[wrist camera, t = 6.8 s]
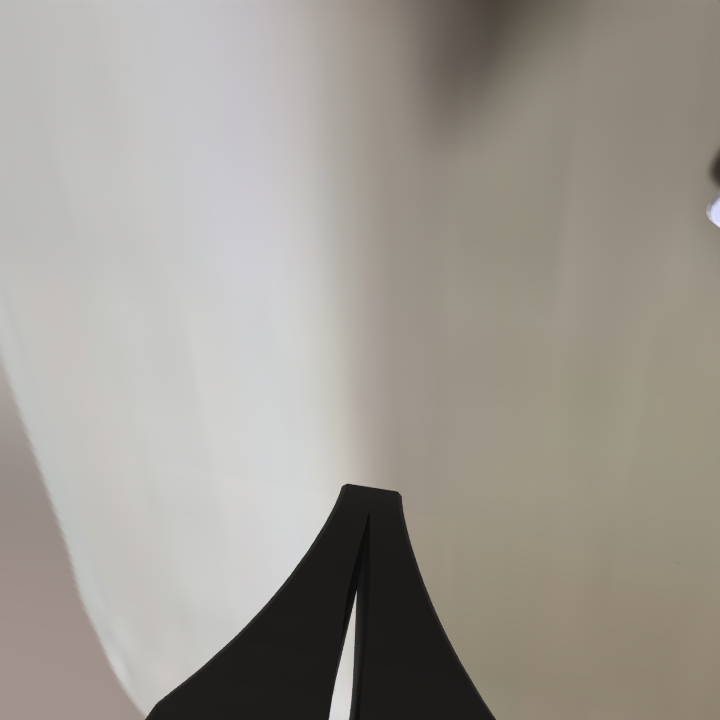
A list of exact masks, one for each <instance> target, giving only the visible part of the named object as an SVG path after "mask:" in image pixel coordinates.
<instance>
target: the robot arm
mask: <svg viewBox="0 0 720 720" xmlns="http://www.w3.org/2000/svg"><path fill="white" fill-rule="evenodd" d="M706 210H707V216H708V217H709V219H710V220H711V221H712V222H713V223H714V224H716V225H717V226H718V227H719V228H720V191H719V192H718V193H717V194H716V195H715V196H714V197H713V198H712V199H711V200H710V202H709V203H708V206H707V209H706ZM356 591H357V601H356V623H355V647H354V670H353V688H352V701H351V709H350V717H349V720H496V719H495V718H494V716H493V715H492V713H491V711H490V710H489V708H488V707H487V705H486V704H485V702H484V701H483V699H482V697H481V696H480V694H479V692H478V691H477V689H476V687H475V686H474V684H473V682H472V681H471V679H470V677H469V676H468V674H467V672H466V671H465V669H464V667H463V665H462V664H461V662H460V660H459V658H458V656H457V655H456V653H455V651H454V649H453V647H452V645H451V643H450V641H449V639H448V637H447V635H446V633H445V631H444V629H443V627H442V625H441V623H440V620H439V618H438V616H437V614H436V612H435V609H434V607H433V605H432V602H431V600H430V597H429V595H428V592H427V590H426V587H425V585H424V582H423V579H422V577H421V574H420V571H419V568H418V565H417V562H416V559H415V556H414V552H413V549H412V546H411V543H410V539H409V535H408V531H407V527H406V523H405V518H404V513H403V506H402V496H401V495H400V494H399V493H398V492H397V491H390V490H384V489H378V488H371V487H365V486H359V485H352V484H346V485H344V486H342V488H341V491H340V494H339V497H338V499H337V501H336V504H335V506H334V508H333V510H332V512H331V514H330V515H329V517H328V519H327V521H326V523H325V525H324V526H323V528H322V529H321V531H320V533H319V534H318V536H317V537H316V539H315V541H314V542H313V544H312V545H311V547H310V548H309V550H308V551H307V553H306V554H305V556H304V557H303V558H302V560H301V561H300V563H299V564H298V565H297V567H296V568H295V569H294V571H293V572H292V574H291V575H290V576H289V578H288V579H287V580H286V581H285V583H284V584H283V585H282V586H281V588H280V589H279V590H278V591H277V592H276V594H275V595H274V596H273V597H272V598H271V599H270V601H269V602H268V603H267V604H266V605H265V606H264V607H263V608H262V610H261V611H260V612H259V613H258V614H257V615H256V616H255V617H254V618H253V619H252V620H251V621H250V622H249V623H248V624H247V626H246V627H245V628H244V629H243V630H242V631H241V632H240V633H239V634H238V635H237V636H236V637H235V638H233V639H232V640H231V641H230V642H229V643H228V644H227V645H226V646H225V647H224V648H223V649H221V650H220V651H219V652H218V653H217V654H216V655H215V656H214V657H213V658H212V659H210V660H209V661H208V662H207V663H206V664H205V665H204V666H203V667H202V668H200V669H199V670H198V671H197V672H196V673H194V674H193V675H192V676H191V677H189V678H188V679H187V680H186V681H184V682H183V683H182V684H181V685H179V686H178V687H177V688H175V689H174V690H173V691H172V692H170V693H169V694H168V695H167V696H165V697H164V698H163V699H162V700H160V701H159V702H158V703H157V704H156V705H155V706H154V708H153V709H152V711H151V712H150V713H149V715H148V716H147V718H146V719H145V720H329V715H330V708H331V701H332V696H333V691H334V686H335V681H336V676H337V672H338V668H339V663H340V659H341V655H342V651H343V646H344V642H345V638H346V634H347V629H348V625H349V621H350V617H351V612H352V608H353V604H354V600H355V595H356Z"/></svg>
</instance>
